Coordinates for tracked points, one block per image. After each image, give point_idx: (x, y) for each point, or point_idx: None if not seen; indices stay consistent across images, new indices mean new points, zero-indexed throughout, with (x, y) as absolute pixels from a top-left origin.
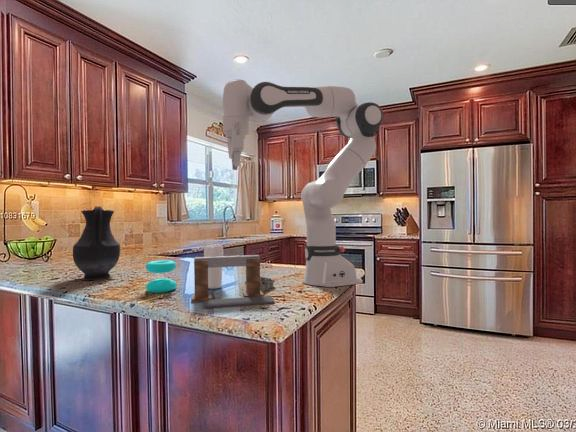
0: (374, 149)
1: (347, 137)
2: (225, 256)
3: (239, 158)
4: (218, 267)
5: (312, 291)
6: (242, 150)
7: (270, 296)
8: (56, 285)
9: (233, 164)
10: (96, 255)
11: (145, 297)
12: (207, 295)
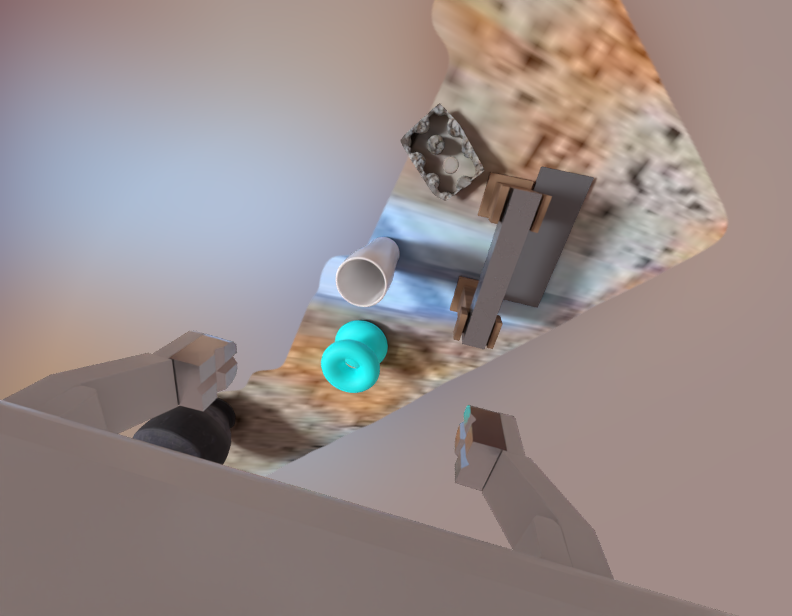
0: None
1: None
2: (492, 281)
3: (547, 485)
4: (393, 259)
5: (553, 20)
6: (719, 610)
7: (548, 169)
8: (267, 455)
9: (172, 399)
10: (220, 450)
11: (407, 368)
12: None
